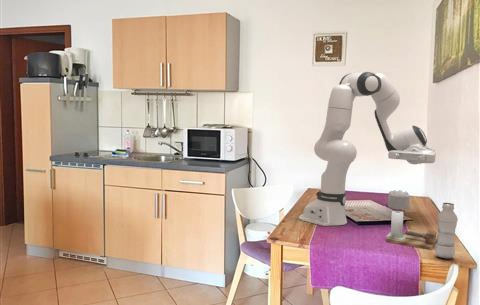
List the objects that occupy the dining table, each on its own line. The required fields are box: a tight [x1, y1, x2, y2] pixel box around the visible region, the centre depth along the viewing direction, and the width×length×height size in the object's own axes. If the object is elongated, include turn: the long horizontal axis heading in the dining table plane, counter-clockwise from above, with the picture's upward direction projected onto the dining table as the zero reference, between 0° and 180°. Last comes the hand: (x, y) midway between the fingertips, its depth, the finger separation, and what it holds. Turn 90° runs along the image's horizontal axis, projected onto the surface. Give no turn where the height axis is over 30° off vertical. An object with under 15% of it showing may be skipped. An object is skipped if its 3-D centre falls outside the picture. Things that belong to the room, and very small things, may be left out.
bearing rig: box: [385, 229, 437, 251], centre depth 176 cm, size 18×12×5 cm, turn 56°
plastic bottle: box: [434, 202, 459, 260], centre depth 157 cm, size 6×7×20 cm
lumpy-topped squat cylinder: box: [387, 189, 411, 210], centre depth 238 cm, size 10×13×9 cm
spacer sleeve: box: [390, 210, 404, 238], centre depth 179 cm, size 4×4×10 cm
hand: (407, 157), depth 193 cm, fingers open, 8 cm apart
